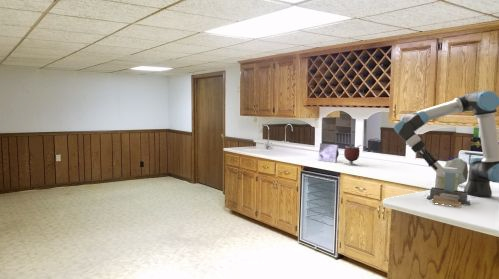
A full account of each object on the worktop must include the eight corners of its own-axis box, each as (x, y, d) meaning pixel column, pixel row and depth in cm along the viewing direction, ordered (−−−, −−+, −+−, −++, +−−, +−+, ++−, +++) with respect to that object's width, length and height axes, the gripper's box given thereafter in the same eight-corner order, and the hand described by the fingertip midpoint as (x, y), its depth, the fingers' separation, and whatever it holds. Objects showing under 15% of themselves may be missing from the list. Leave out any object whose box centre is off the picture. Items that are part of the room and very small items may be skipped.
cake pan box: (338, 162, 378) (339, 144, 376) (336, 163, 373) (337, 145, 372) (319, 160, 388) (321, 143, 387) (318, 160, 383) (319, 143, 382)
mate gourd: (342, 165, 358) (344, 143, 357) (343, 163, 371) (345, 143, 370) (359, 166, 353) (361, 145, 352) (360, 165, 366) (362, 144, 365)
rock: (440, 181, 287) (442, 155, 286) (448, 182, 287) (450, 155, 286) (460, 188, 261) (463, 159, 259) (469, 189, 261) (472, 159, 260)
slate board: (443, 199, 216) (445, 171, 215) (453, 201, 213) (455, 172, 212) (442, 200, 213) (445, 172, 212) (452, 202, 211) (455, 173, 210)
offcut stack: (433, 201, 210) (434, 191, 209) (460, 205, 203) (461, 195, 203) (432, 203, 203) (432, 193, 203) (460, 207, 197) (461, 197, 196)
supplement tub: (449, 194, 237) (452, 166, 236) (461, 198, 224) (464, 169, 223) (430, 192, 236) (432, 165, 235) (440, 197, 224) (443, 168, 223)
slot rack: (428, 196, 222) (429, 186, 222) (469, 203, 211) (470, 192, 211) (426, 198, 216) (427, 188, 215) (469, 205, 205) (470, 194, 205)
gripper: (413, 147, 233) (438, 174, 226) (407, 148, 212) (434, 179, 205) (423, 139, 230) (449, 166, 223) (418, 140, 209) (446, 170, 202)
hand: (442, 172), depth 214 cm, fingers open, 13 cm apart
